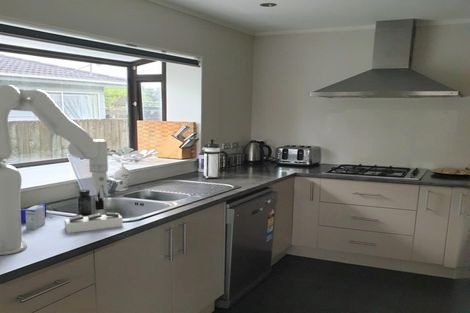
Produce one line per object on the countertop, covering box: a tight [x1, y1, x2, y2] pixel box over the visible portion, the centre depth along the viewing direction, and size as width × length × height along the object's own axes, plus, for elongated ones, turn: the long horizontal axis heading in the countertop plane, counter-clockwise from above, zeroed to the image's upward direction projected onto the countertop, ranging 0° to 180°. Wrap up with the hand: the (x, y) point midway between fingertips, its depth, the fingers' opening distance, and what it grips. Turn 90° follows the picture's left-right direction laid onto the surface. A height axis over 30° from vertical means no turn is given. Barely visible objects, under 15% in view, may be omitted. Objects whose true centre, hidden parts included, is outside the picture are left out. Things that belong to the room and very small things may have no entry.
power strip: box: [64, 214, 123, 234], centre depth 174 cm, size 23×8×4 cm, turn 120°
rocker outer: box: [104, 211, 120, 217], centre depth 176 cm, size 5×3×1 cm, turn 120°
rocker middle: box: [87, 212, 102, 220], centre depth 172 cm, size 5×3×1 cm, turn 120°
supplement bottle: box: [76, 188, 93, 217], centre depth 193 cm, size 7×7×12 cm
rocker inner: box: [68, 215, 84, 222], centre depth 168 cm, size 5×3×1 cm, turn 120°
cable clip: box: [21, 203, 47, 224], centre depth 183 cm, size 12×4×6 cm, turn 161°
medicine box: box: [25, 204, 46, 230], centre depth 172 cm, size 8×4×9 cm, turn 178°
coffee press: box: [201, 139, 229, 180], centre depth 301 cm, size 17×16×30 cm
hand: (99, 209), depth 173 cm, fingers closed
